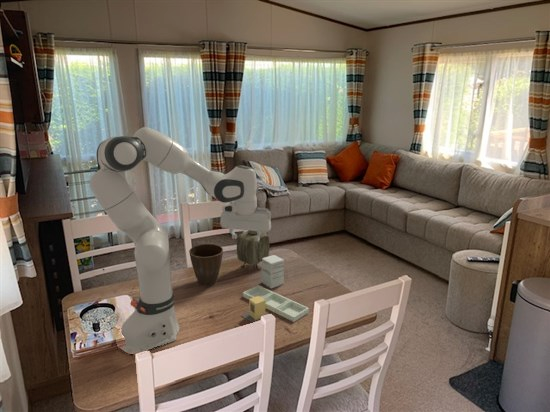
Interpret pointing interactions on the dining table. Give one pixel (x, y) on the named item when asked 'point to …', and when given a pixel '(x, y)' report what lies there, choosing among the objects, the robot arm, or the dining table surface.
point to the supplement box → (272, 271)
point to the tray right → (292, 310)
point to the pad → (251, 317)
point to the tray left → (256, 292)
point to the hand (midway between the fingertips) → (245, 239)
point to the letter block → (256, 307)
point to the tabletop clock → (252, 247)
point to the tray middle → (274, 301)
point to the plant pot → (206, 262)
